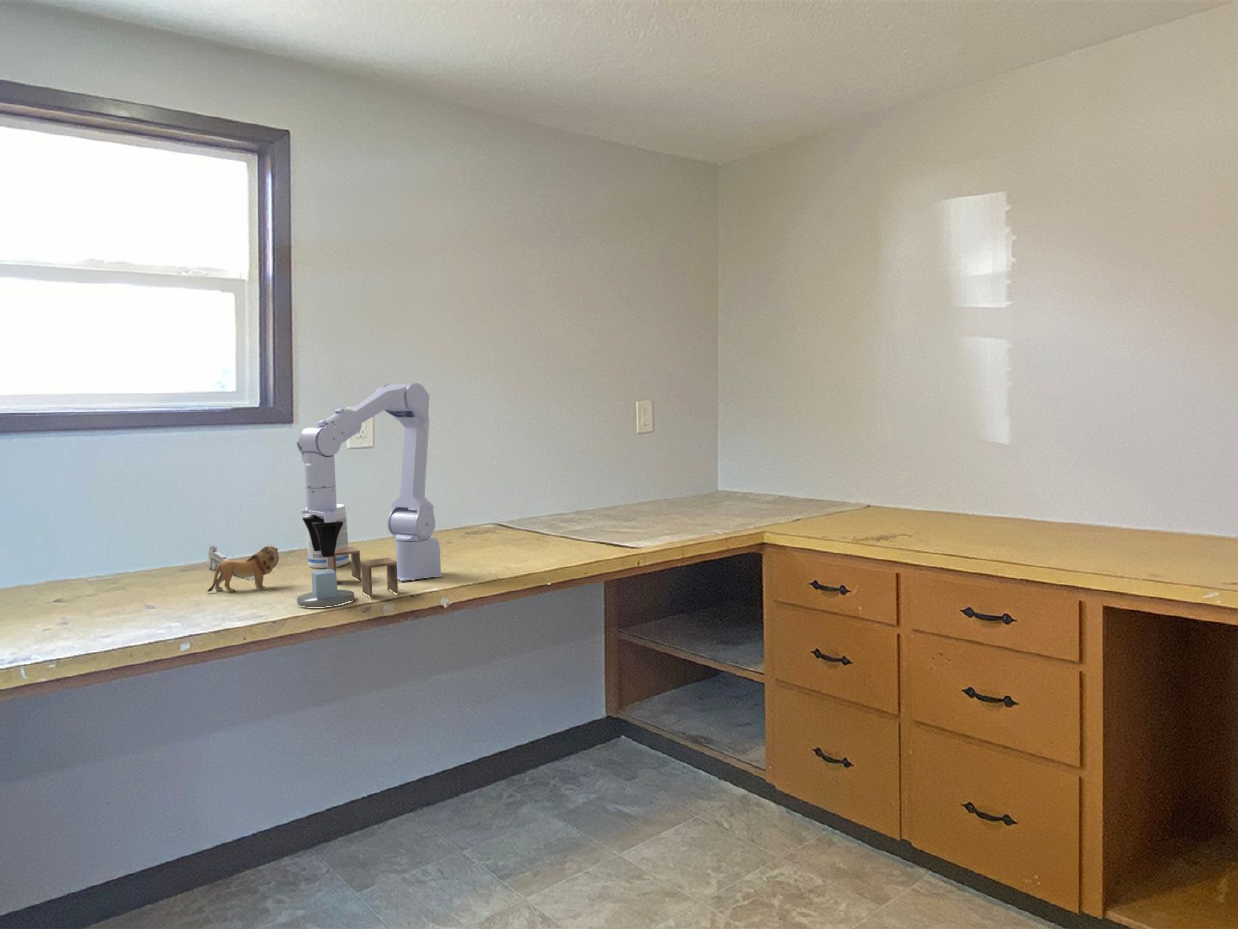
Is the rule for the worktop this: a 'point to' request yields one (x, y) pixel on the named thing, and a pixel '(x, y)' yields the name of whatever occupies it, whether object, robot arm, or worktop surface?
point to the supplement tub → (342, 542)
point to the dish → (325, 599)
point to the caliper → (217, 559)
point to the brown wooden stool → (367, 574)
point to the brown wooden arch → (354, 560)
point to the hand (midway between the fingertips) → (323, 553)
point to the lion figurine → (247, 568)
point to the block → (324, 584)
